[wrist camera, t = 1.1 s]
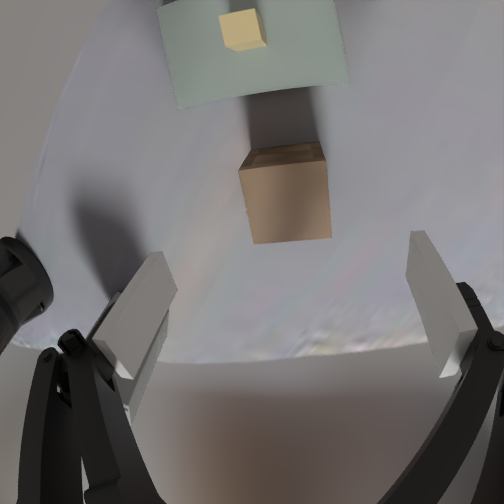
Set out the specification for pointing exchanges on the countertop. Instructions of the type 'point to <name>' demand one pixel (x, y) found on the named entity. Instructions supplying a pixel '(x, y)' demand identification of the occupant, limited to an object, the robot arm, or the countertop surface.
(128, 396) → the skincare box
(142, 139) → the countertop surface
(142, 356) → the robot arm
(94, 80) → the countertop surface
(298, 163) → the cardboard shipping box
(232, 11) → the pale green flat panel
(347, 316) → the countertop surface
